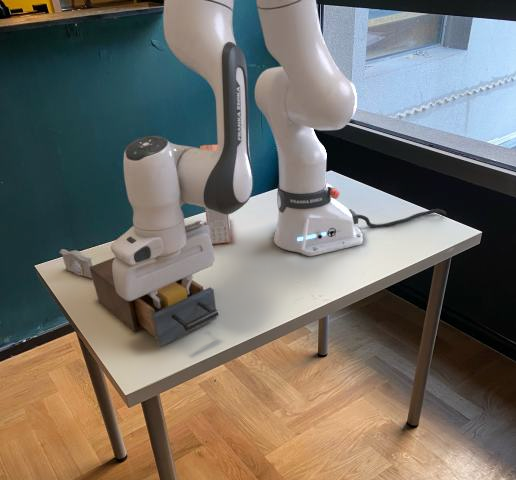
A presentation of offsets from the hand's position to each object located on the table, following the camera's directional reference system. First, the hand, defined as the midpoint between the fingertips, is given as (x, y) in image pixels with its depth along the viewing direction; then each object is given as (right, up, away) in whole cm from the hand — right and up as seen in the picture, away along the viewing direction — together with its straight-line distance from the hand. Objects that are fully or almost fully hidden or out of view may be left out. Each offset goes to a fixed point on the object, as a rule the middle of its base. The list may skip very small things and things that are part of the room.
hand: (172, 300), depth 100 cm
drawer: (0, -4, +3) cm, 5 cm away
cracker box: (+6, +21, +37) cm, 43 cm away
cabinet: (-7, +1, +11) cm, 13 cm away
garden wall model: (-24, +8, +22) cm, 33 cm away
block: (0, -1, +1) cm, 2 cm away
